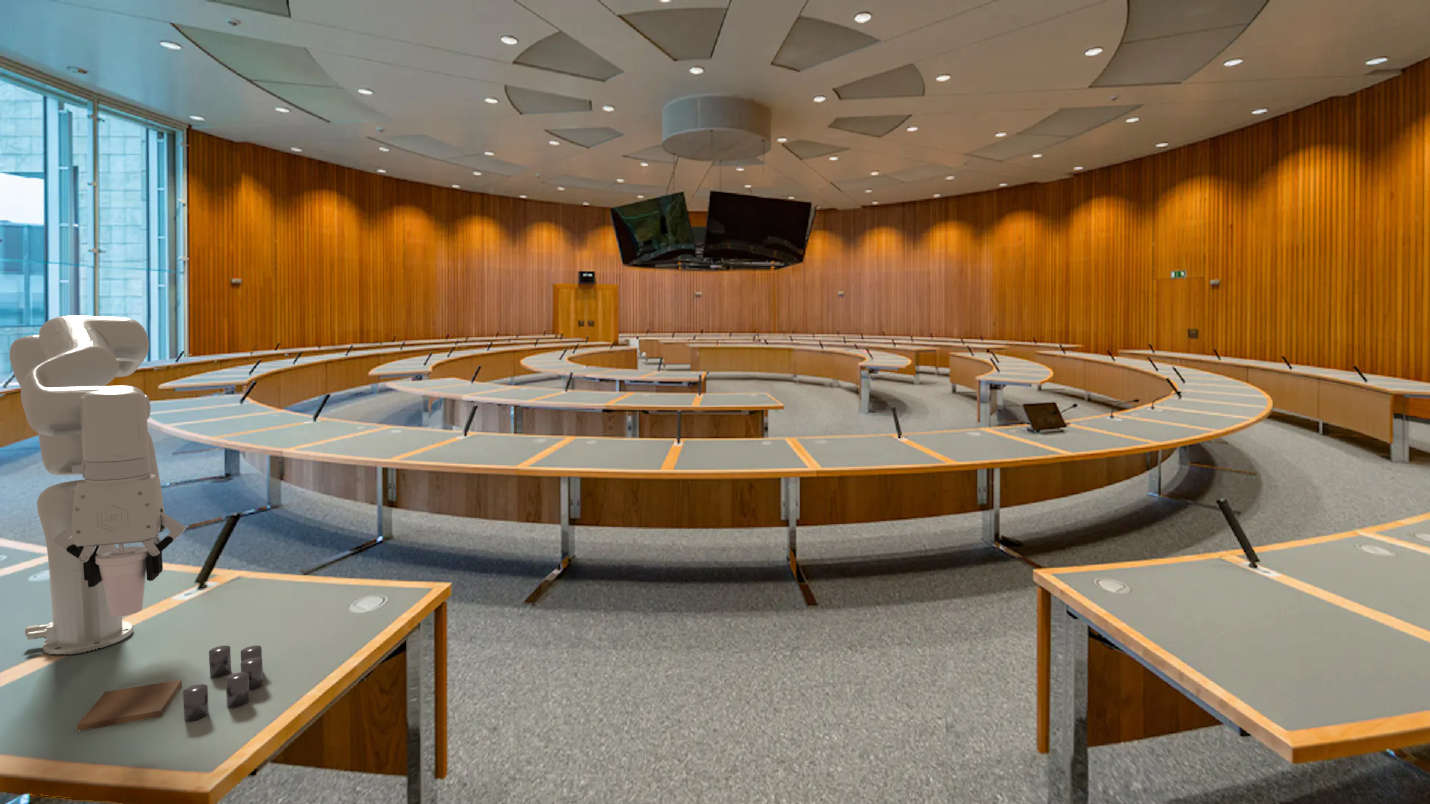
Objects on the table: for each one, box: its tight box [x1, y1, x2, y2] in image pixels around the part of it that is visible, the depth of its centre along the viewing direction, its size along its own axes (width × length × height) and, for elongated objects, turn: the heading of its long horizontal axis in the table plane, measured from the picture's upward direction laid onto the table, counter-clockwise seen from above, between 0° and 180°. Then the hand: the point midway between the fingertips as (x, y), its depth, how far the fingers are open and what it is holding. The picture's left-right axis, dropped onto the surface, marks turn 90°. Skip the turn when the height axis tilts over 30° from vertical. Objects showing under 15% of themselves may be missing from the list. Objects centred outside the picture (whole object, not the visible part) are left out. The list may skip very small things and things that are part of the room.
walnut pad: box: [76, 679, 183, 732], centre depth 103 cm, size 10×10×1 cm
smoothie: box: [95, 544, 149, 617], centre depth 101 cm, size 6×6×14 cm
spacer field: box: [182, 645, 264, 723], centre depth 109 cm, size 9×17×4 cm, turn 25°
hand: (124, 580), depth 101 cm, fingers closed on smoothie, 6 cm apart
